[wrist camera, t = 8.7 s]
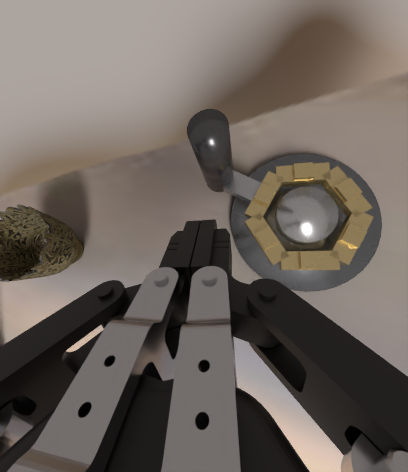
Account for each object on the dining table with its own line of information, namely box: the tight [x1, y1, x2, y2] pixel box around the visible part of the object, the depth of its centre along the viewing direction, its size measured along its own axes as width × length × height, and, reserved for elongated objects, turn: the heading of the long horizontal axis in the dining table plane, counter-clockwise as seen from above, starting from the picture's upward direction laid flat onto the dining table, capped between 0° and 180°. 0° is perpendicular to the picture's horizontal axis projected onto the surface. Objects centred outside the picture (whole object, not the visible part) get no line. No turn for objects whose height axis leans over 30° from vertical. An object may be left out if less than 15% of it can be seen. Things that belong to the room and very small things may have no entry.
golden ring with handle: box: [187, 109, 374, 270], centre depth 19 cm, size 17×12×9 cm
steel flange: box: [231, 154, 382, 291], centre depth 23 cm, size 15×15×3 cm
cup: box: [0, 205, 83, 282], centre depth 25 cm, size 8×7×8 cm
